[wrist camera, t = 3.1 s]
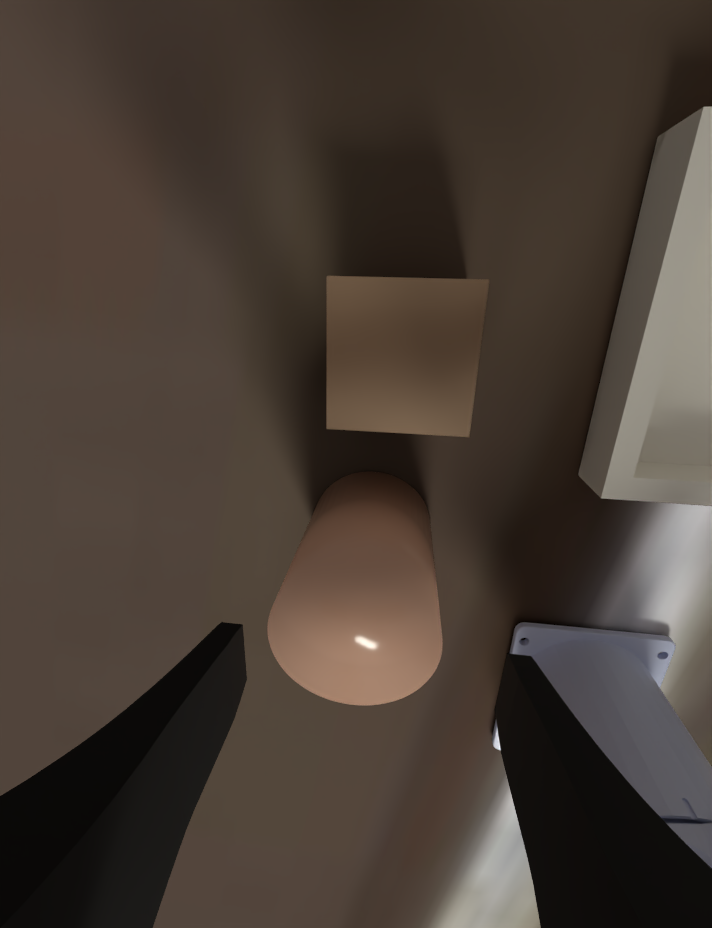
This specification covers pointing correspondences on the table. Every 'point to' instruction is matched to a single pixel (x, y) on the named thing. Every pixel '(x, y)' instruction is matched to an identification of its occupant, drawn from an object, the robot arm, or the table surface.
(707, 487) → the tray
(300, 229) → the table surface
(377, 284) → the walnut cube
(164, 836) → the robot arm
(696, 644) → the table surface
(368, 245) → the table surface
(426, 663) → the peach rounded cylinder
